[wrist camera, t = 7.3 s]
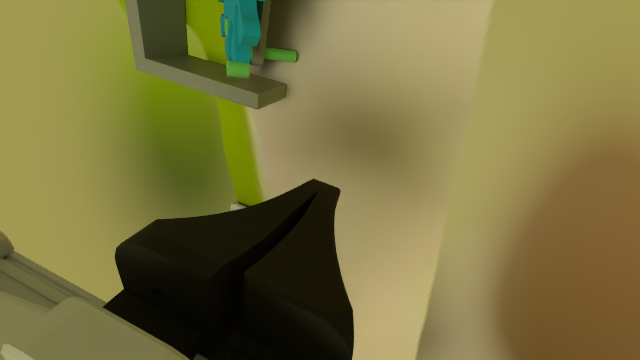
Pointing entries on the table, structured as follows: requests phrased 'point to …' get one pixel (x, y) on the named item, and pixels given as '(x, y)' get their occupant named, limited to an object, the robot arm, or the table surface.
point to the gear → (248, 36)
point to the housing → (188, 56)
